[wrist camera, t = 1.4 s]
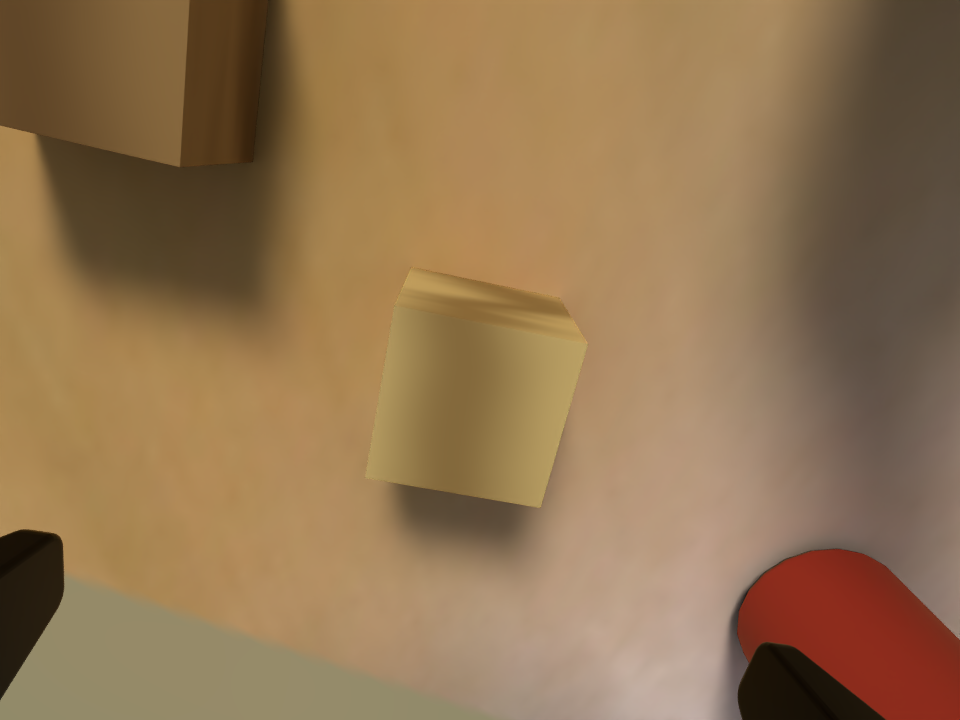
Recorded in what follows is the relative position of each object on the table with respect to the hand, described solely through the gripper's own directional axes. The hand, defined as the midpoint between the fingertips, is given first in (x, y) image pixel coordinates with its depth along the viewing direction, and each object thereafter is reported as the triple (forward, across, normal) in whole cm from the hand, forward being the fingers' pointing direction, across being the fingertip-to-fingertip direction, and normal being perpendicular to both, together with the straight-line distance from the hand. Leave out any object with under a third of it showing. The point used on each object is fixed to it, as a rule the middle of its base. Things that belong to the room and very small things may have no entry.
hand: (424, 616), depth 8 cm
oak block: (+13, -1, +1) cm, 13 cm away
